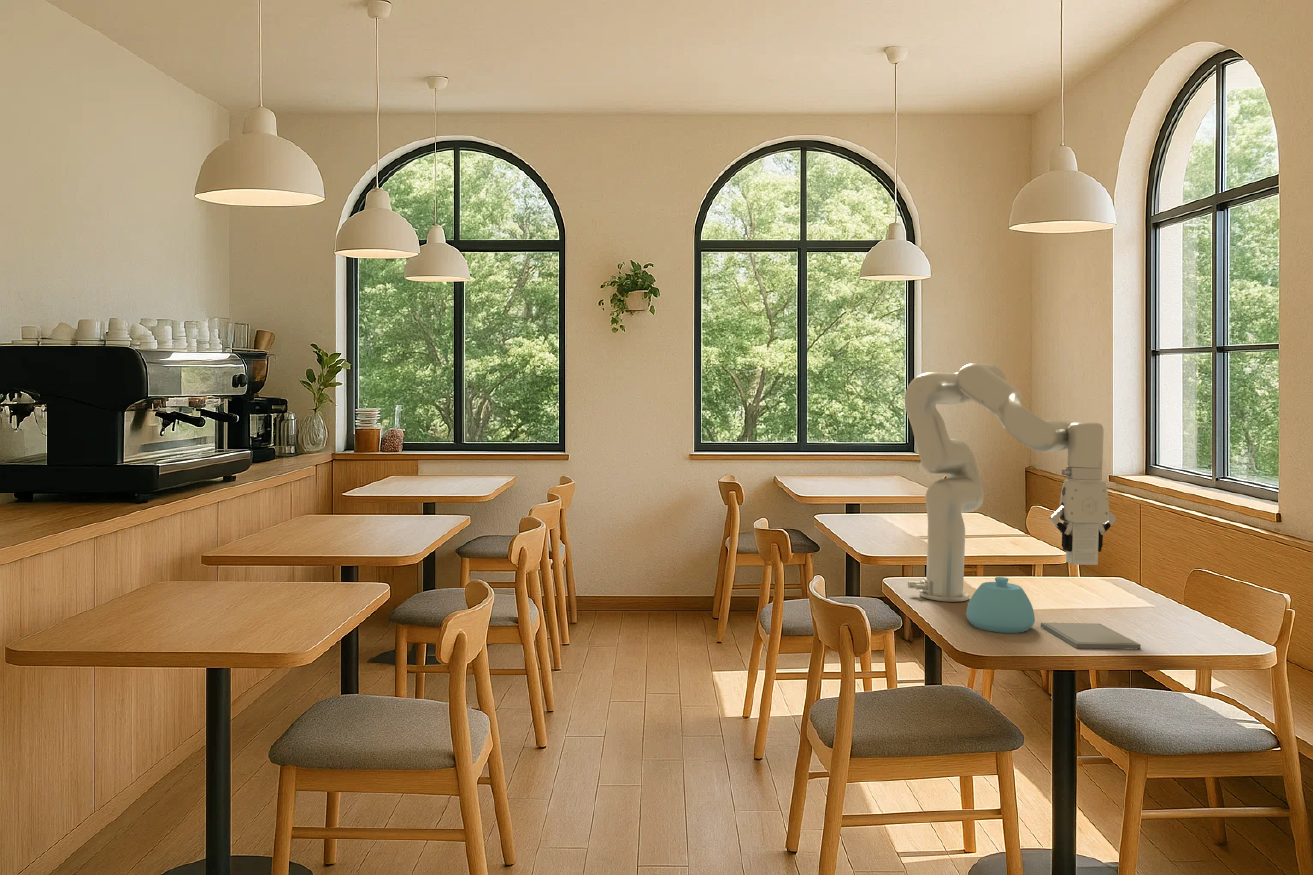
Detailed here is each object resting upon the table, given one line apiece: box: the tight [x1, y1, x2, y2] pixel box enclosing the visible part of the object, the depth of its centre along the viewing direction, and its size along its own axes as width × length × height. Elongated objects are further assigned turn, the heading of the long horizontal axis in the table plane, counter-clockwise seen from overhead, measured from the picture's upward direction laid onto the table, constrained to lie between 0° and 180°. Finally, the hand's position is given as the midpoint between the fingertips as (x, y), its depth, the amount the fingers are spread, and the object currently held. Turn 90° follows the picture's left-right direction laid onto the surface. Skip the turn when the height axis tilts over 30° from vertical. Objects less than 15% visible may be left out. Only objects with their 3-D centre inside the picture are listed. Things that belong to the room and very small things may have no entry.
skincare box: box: [1065, 523, 1099, 566], centre depth 221 cm, size 6×4×12 cm
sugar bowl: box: [966, 576, 1036, 634], centre depth 219 cm, size 15×15×12 cm
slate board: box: [1040, 622, 1142, 649], centre depth 211 cm, size 14×18×1 cm
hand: (1081, 550), depth 221 cm, fingers closed on skincare box, 6 cm apart
